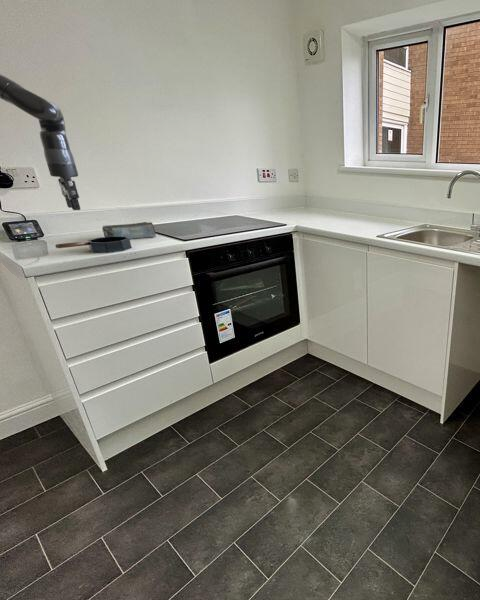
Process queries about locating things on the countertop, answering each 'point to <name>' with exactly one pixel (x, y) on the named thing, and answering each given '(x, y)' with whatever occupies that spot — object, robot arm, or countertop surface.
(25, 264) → the countertop surface
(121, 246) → the black frying pan
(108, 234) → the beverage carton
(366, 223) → the countertop surface
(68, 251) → the countertop surface
